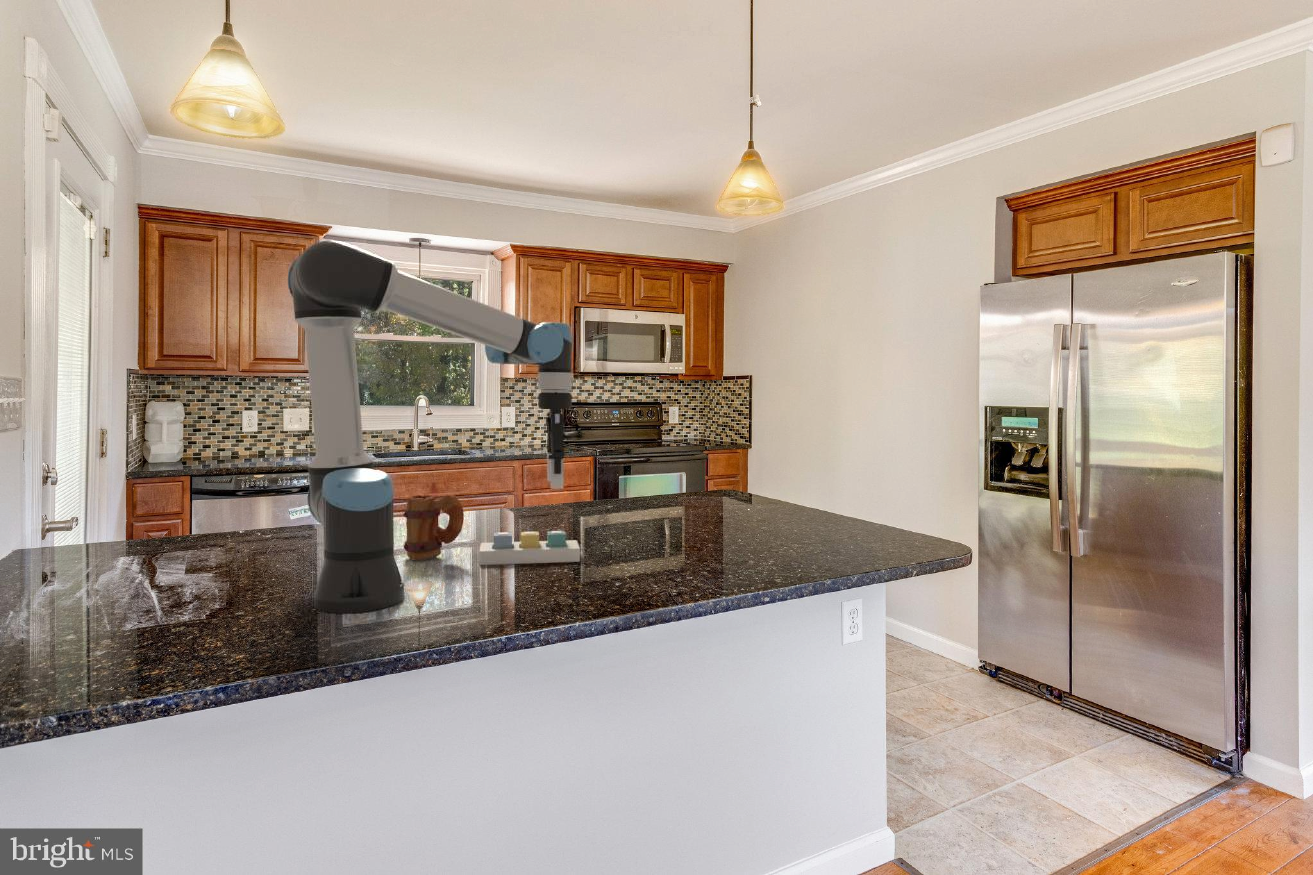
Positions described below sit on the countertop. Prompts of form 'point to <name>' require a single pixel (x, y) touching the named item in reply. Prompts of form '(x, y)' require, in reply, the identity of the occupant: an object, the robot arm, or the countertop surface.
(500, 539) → the key
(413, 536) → the mug
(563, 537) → the key
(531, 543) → the key
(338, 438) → the robot arm
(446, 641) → the countertop surface
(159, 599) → the countertop surface
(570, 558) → the keypad
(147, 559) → the countertop surface
